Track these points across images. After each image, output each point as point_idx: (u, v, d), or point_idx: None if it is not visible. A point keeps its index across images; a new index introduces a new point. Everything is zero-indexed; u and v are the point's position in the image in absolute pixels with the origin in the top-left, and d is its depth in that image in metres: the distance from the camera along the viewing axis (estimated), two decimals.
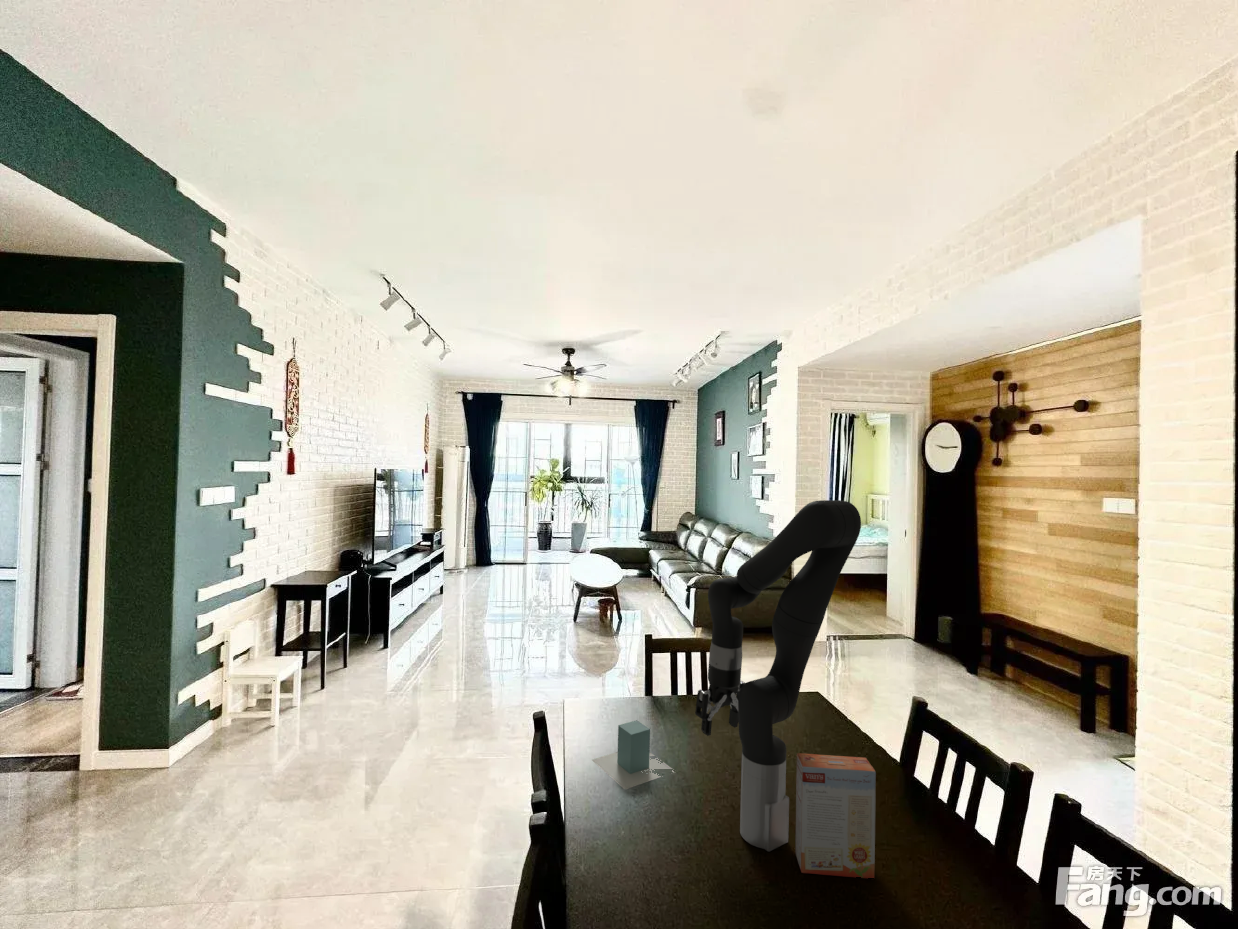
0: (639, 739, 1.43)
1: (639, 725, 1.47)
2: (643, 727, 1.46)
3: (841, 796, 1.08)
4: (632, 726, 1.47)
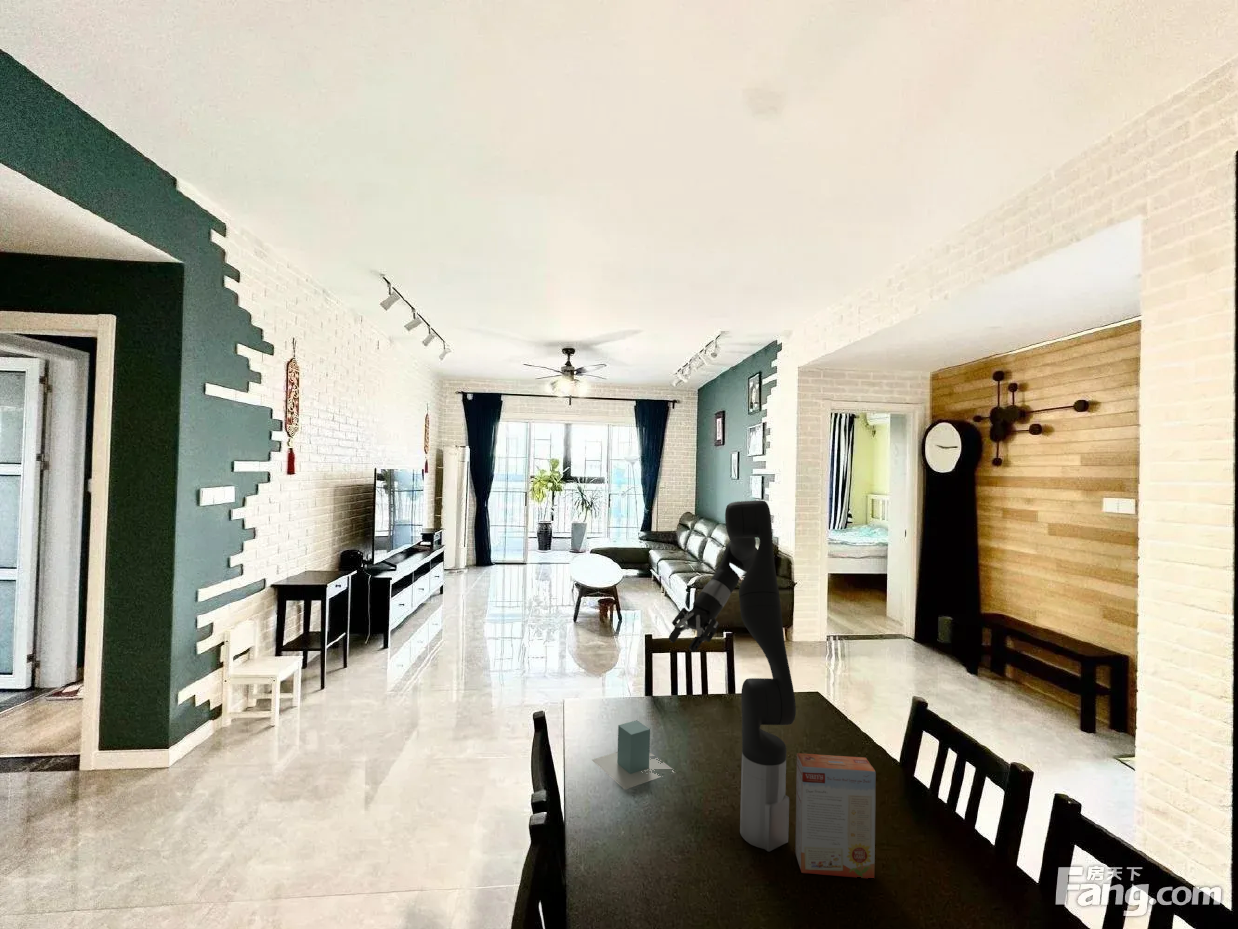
0: (639, 739, 1.43)
1: (639, 725, 1.47)
2: (643, 727, 1.46)
3: (841, 796, 1.08)
4: (632, 726, 1.47)
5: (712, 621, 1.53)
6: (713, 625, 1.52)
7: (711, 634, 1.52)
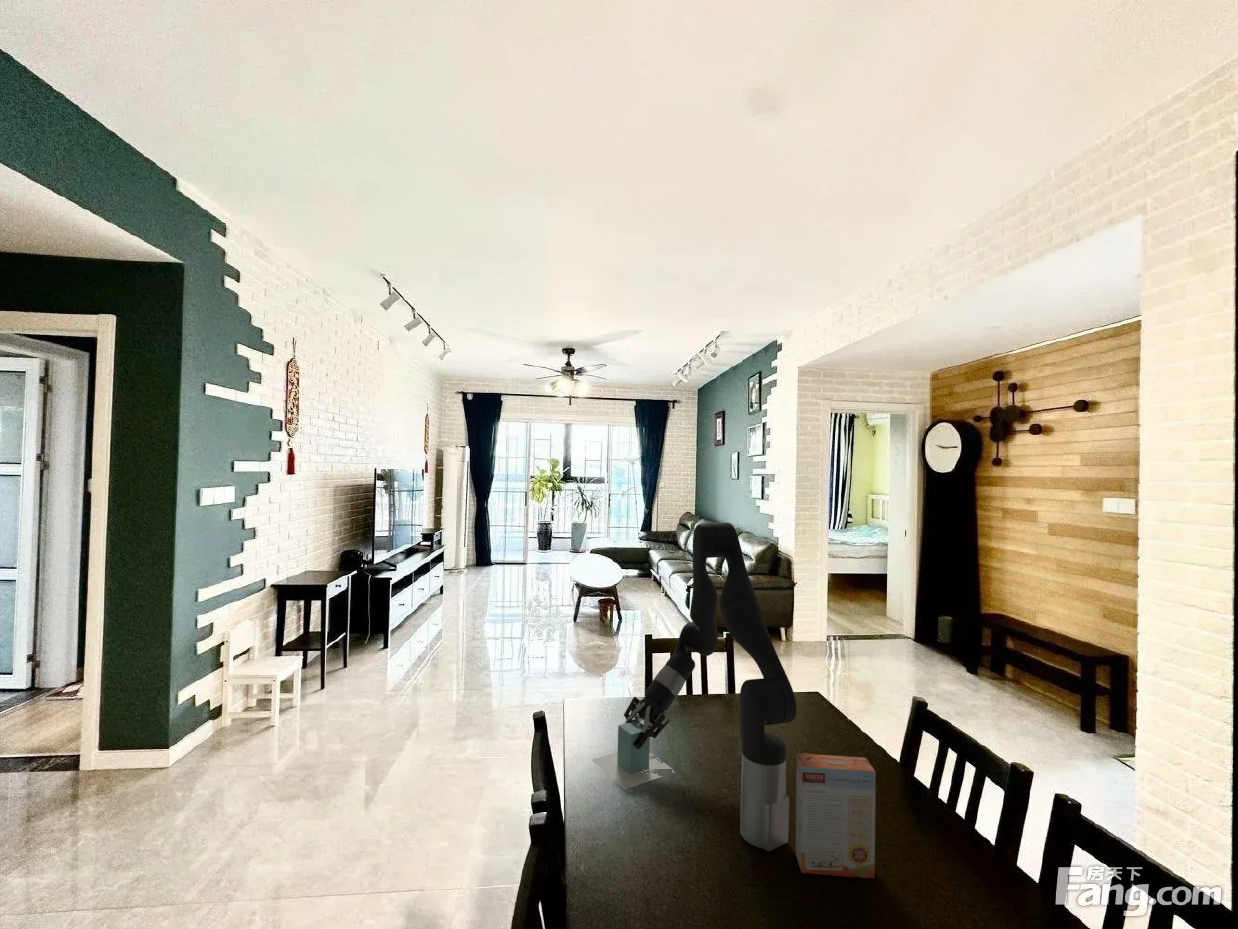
0: None
1: (639, 725, 1.47)
2: None
3: (841, 796, 1.08)
4: (632, 726, 1.47)
5: (661, 717, 1.43)
6: (661, 722, 1.43)
7: (658, 730, 1.43)
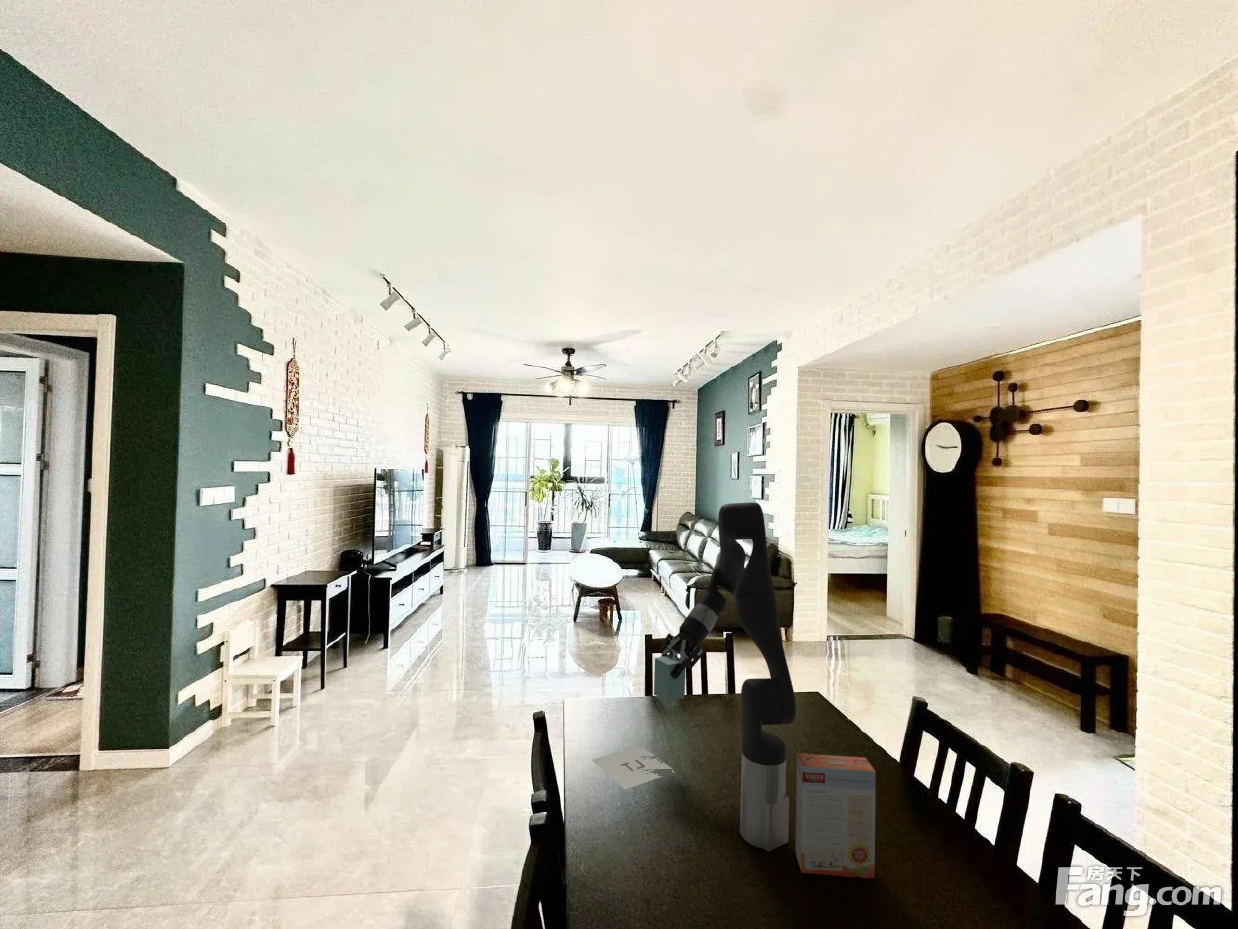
0: None
1: (675, 658, 1.54)
2: None
3: (841, 796, 1.08)
4: (668, 659, 1.53)
5: (696, 648, 1.50)
6: (697, 653, 1.50)
7: (694, 661, 1.50)
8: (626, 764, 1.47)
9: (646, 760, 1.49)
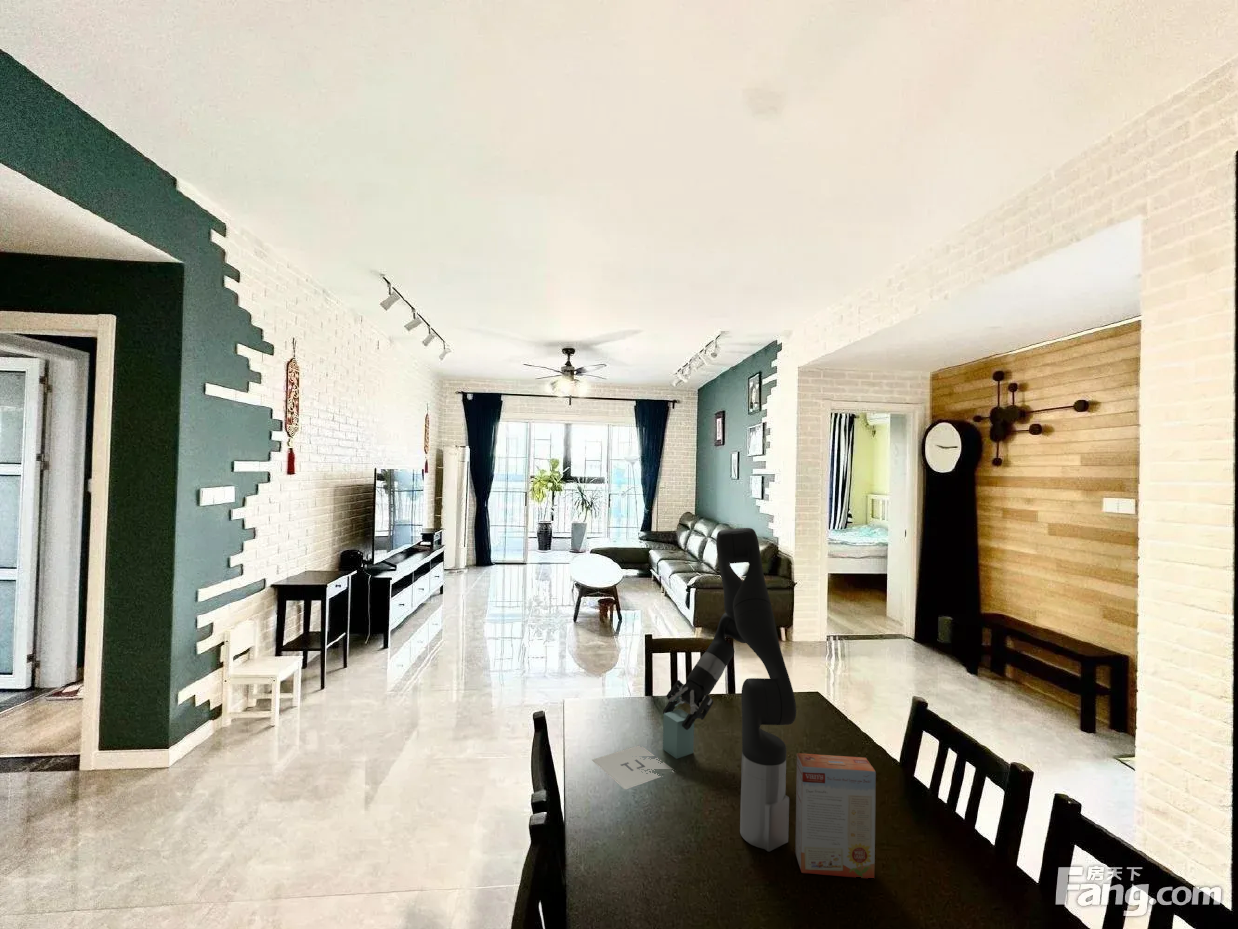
0: None
1: (683, 714, 1.55)
2: (687, 715, 1.55)
3: (841, 796, 1.08)
4: (676, 714, 1.55)
5: (706, 698, 1.52)
6: (707, 702, 1.51)
7: (705, 711, 1.51)
8: (626, 764, 1.47)
9: (646, 760, 1.49)
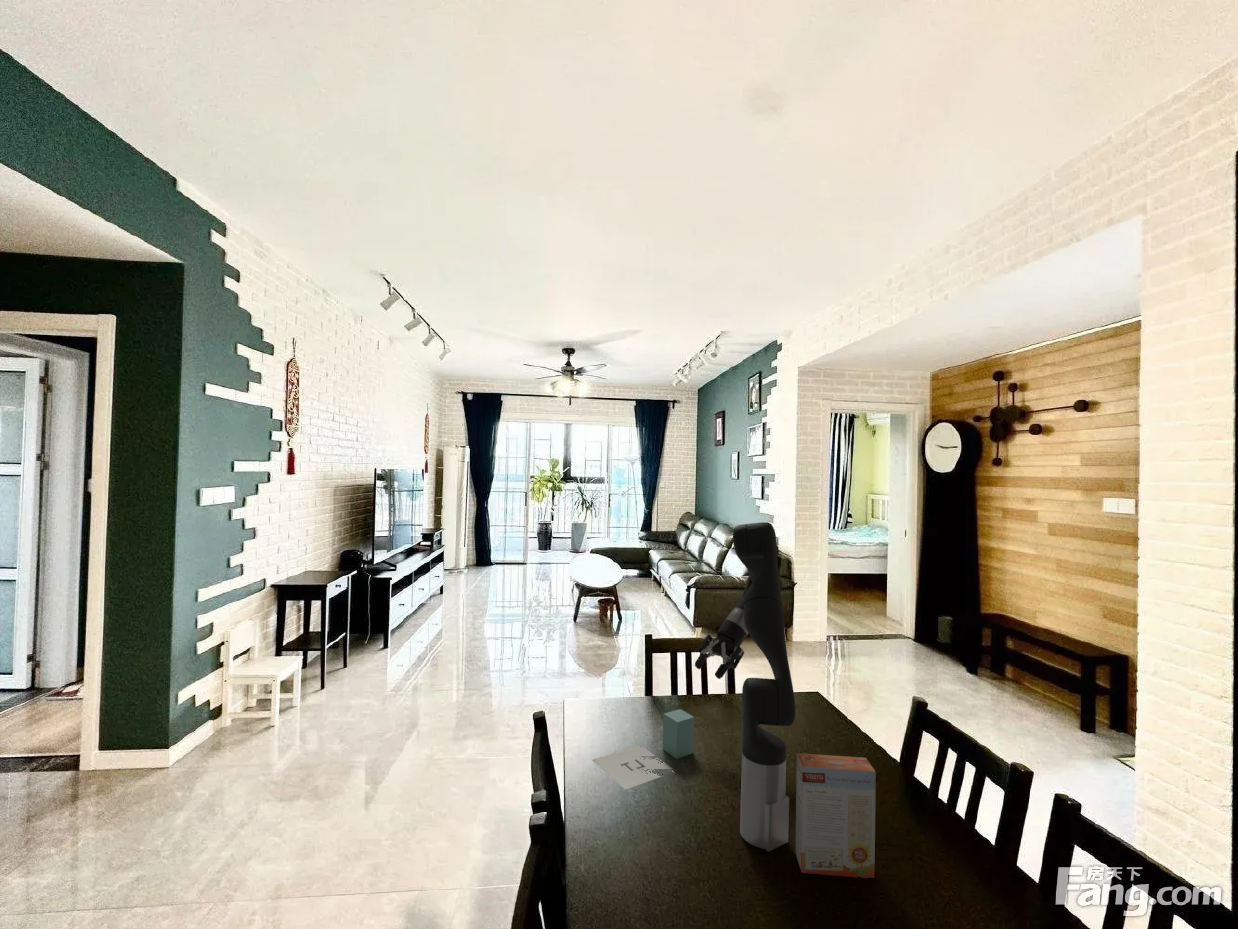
0: (684, 726, 1.52)
1: (683, 714, 1.55)
2: (687, 715, 1.55)
3: (841, 796, 1.08)
4: (676, 714, 1.55)
5: (737, 649, 1.58)
6: (738, 653, 1.58)
7: (736, 661, 1.58)
8: (626, 764, 1.47)
9: (646, 760, 1.49)
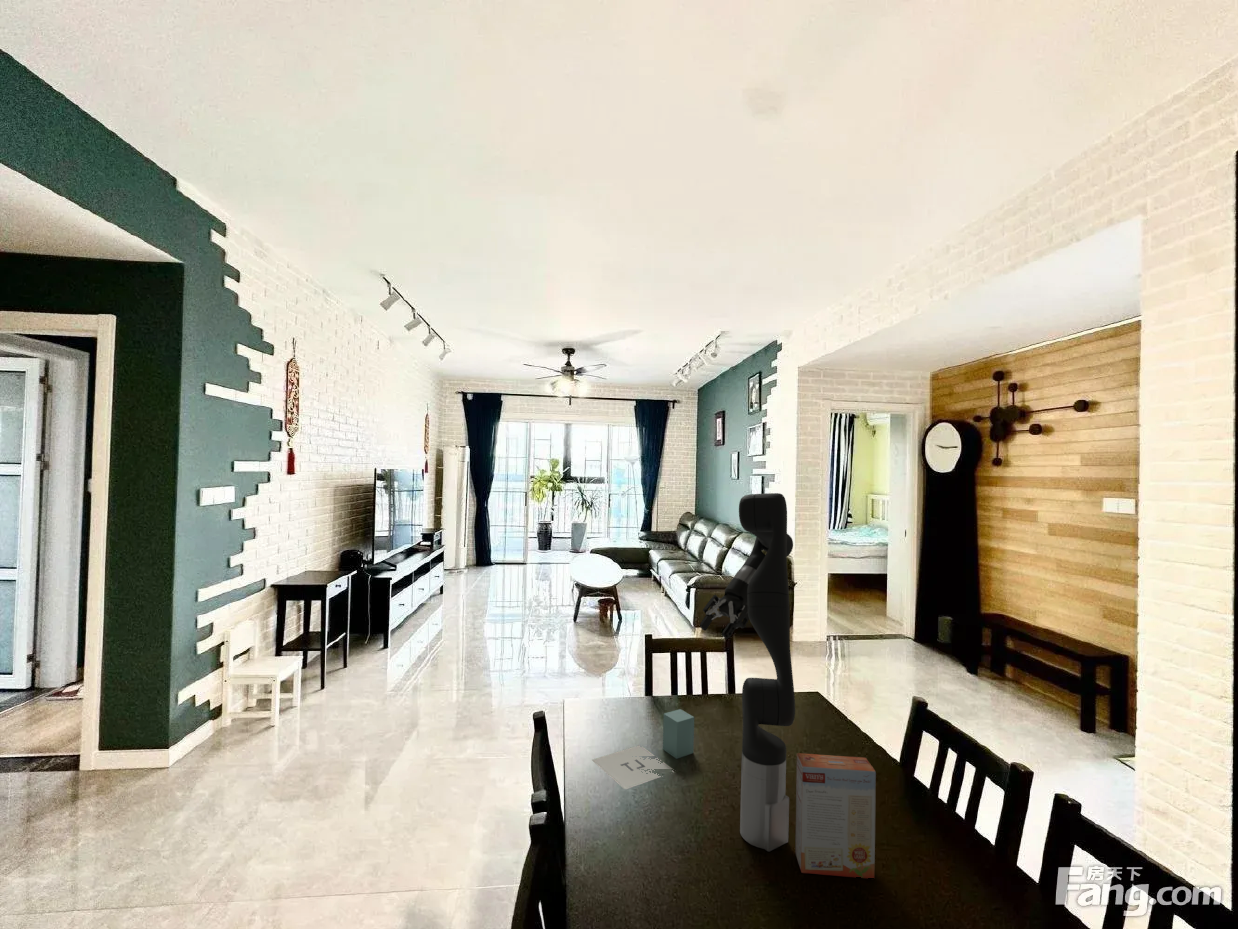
0: (684, 726, 1.52)
1: (683, 714, 1.55)
2: (687, 715, 1.55)
3: (841, 796, 1.08)
4: (676, 714, 1.55)
5: (746, 607, 1.47)
6: (747, 611, 1.47)
7: (745, 620, 1.47)
8: (626, 764, 1.47)
9: (646, 760, 1.49)
